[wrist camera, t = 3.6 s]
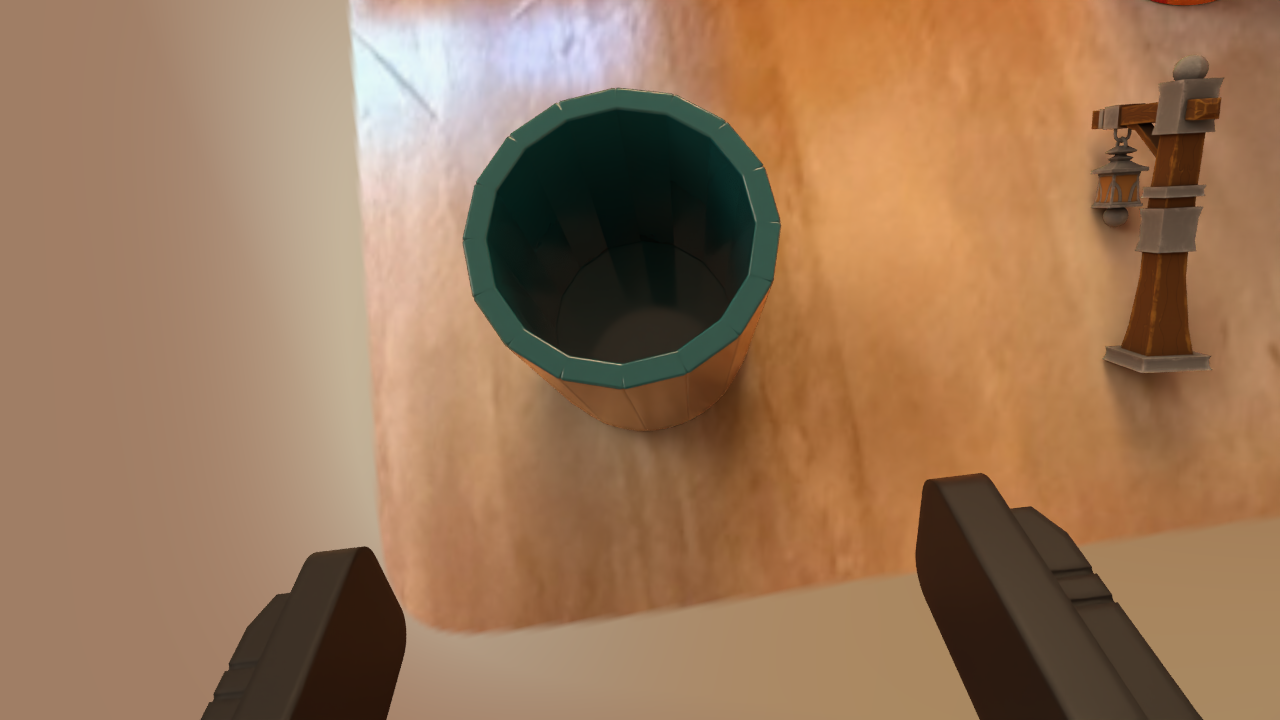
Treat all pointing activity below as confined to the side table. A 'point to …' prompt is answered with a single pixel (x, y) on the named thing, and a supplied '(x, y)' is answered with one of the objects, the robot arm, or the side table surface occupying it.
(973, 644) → the robot arm
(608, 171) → the teal open tube
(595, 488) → the side table surface
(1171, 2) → the coffee cup
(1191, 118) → the wooden post with brackets
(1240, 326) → the side table surface
